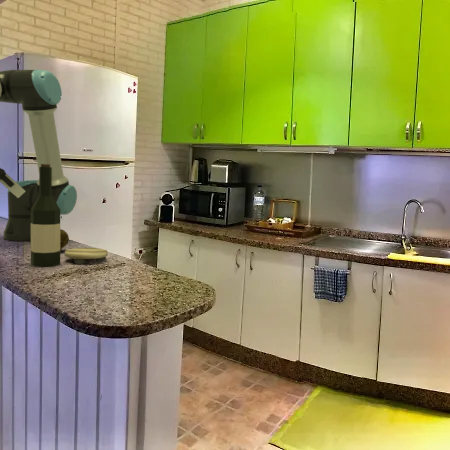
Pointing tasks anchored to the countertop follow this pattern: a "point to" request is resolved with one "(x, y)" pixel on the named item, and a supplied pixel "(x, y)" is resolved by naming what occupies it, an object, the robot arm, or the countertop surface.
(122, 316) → the countertop surface
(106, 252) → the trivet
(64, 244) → the potato
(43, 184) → the wine bottle
